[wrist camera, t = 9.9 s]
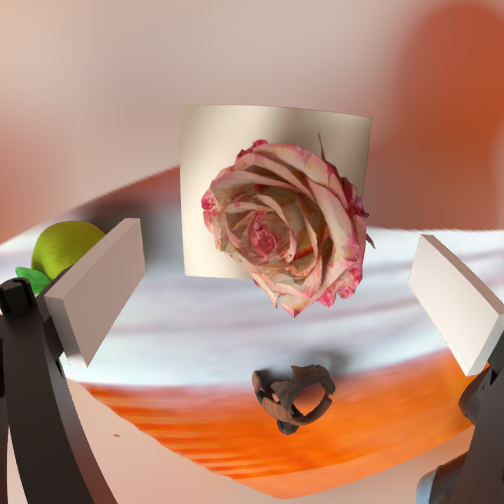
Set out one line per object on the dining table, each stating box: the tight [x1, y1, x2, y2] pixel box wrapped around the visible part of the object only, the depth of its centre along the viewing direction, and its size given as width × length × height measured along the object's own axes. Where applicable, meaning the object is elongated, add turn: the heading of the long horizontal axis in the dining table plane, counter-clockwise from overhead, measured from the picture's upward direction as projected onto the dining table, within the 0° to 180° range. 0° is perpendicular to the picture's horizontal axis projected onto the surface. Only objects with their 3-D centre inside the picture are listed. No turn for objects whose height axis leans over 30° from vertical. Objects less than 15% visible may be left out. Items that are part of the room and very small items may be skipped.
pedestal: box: [180, 105, 371, 279], centre depth 24 cm, size 12×12×8 cm
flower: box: [201, 129, 375, 318], centre depth 17 cm, size 10×9×8 cm
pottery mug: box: [252, 365, 335, 435], centre depth 37 cm, size 12×10×8 cm
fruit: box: [16, 221, 106, 295], centre depth 26 cm, size 9×9×10 cm
